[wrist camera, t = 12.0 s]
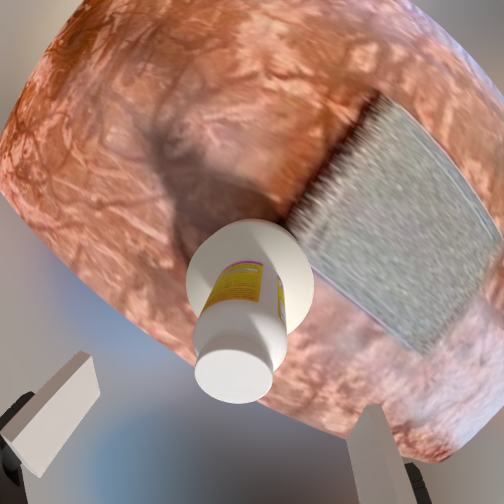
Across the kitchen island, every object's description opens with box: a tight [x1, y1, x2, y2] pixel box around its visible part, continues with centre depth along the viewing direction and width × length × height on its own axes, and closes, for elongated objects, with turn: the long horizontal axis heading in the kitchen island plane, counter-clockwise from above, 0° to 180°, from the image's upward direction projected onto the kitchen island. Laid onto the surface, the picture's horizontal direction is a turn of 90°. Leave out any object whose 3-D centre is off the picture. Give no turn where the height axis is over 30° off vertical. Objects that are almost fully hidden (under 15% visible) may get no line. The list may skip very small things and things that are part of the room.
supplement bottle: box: [193, 259, 288, 403], centre depth 21 cm, size 7×7×13 cm
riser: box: [186, 219, 314, 334], centre depth 30 cm, size 13×13×6 cm
